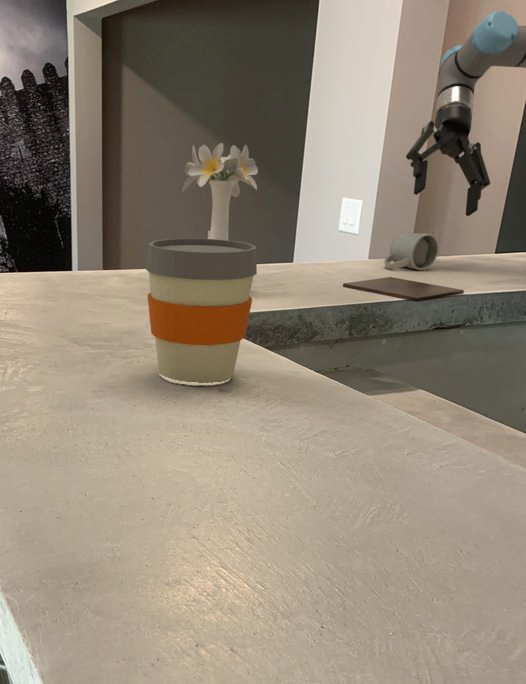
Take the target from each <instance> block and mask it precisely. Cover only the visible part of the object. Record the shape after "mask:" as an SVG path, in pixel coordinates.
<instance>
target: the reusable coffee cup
mask: <svg viewBox="0 0 526 684" xmlns="http://www.w3.org/2000/svg"><path fill="white" fill-rule="evenodd" d="M257 264H258V263H257V246H256V245H254V244H251V243H249V242H244V241H237V240H219V239H209V238H194V237H193V238H188V237H187V238H185V237H184V238H165V239H157V240H153V241H150V242H149V243H148V249H147V255H146V265H145V270H146V271H147V272H148V277H149V287H150V292H149V293H148V294H147V304H148V312H149V313H148V314H149V324H150V333H151V335H152V336H153V337H154V339H155V349H156V360H157V361H156V362H157V371H159V372H158V374H159V373H160V374H161V375H163V376H165V377H168V378H171V379H174V380H179V381H186V382H198V383H204V382H205V383H209V382H210V383H213V382H222V381H226V380H228V379H230V378H232V377H233V378H232V380H233V379H234V374H235V370H236V364H237V361H238V360H237V359H238V355H239V349H240V344H241V341H242V340H243V339H245V337H246V332H247V328H248V323H249V318H250V313H251V308H252V303H253V297H252V296H250V294H251V290H252V285H253V279H254V276H256V275H257V273H258V270H257V269H258V268H257V266H258V265H257ZM162 380H164V379H162ZM232 380H230V381H228V382H226V383H223V384H218V385H217V386H220V385H225V384H227V383H230V382H231V381H232ZM164 381H165V382H168V383H171V384H175V385H179V386H183V385H182V384H177V383H173V382H169V381H166V380H164ZM185 386H188V387H192V386H191V385H185ZM214 386H216V385H209V386H208V387H214Z"/></svg>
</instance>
